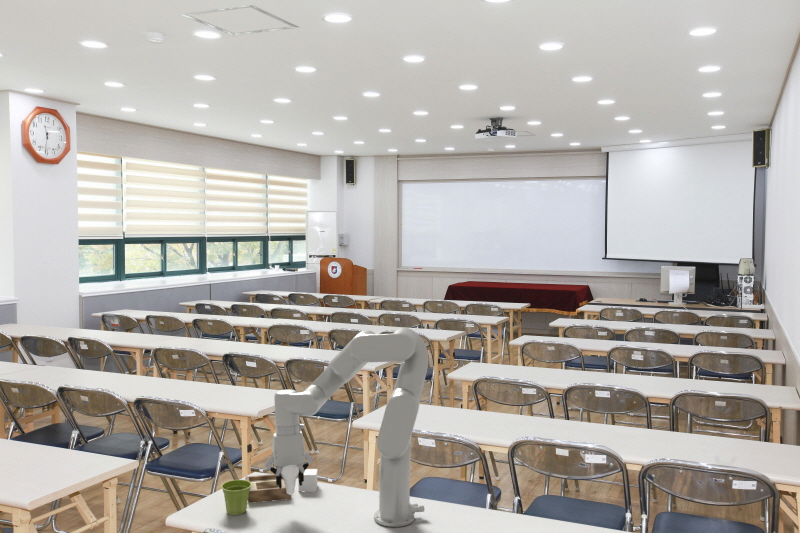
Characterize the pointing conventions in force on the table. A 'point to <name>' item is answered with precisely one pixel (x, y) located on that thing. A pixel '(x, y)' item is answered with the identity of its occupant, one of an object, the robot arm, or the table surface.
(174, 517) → the table surface
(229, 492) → the plant pot
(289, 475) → the lightbulb
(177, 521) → the table surface
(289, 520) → the table surface
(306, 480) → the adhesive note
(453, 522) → the table surface
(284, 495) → the socket box
